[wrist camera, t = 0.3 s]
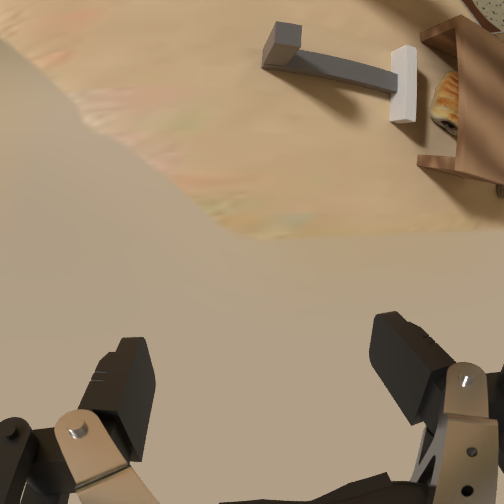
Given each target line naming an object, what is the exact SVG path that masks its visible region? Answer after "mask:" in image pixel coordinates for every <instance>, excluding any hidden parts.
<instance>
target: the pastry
mask: <svg viewBox="0 0 504 504" xmlns="http://www.w3.org/2000/svg"><path fill="white" fill-rule="evenodd" d="M435 90H436V92H435V94H434V97H433V99H432V102H431V106H430V111H429V113H430V117H431V118H432V119H433V121H434V122H435V123H436V124H438V125H440V126H442V127H444V128H446V129H447V131H448V132H450V133H451V134H453V135H458V109H459V84H458V72H456V71H453V72H448V73H447V74H446V76H445V77H444V79H442V80H441V82H440V84H439V85H438V86H437V87H436V89H435Z"/></svg>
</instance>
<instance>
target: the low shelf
mask: <svg viewBox="0 0 504 504" xmlns="http://www.w3.org/2000/svg"><path fill="white" fill-rule="evenodd" d="M420 36H421V42H422V43H425V44H427V45H429V46H432V47H434V48H436V49H438V50H441V51H443V52H445V53H447V54H449V55H451V56H453V57H455V58H457V59H458V84H459V109H458V135H457V150H456V157H444V156H431V155H418V160H417V166H421V167H425V168H429V169H433V170H437V171H441V172H445V173H449V174H453V175H457V176H460V177H464V178H468V179H474V180H479V181H484V182H489V183H494V184H499V185H504V42H503V41H502V40H500V39H499V38H497V37H496V36H495V35H493V34H492V33H490V32H488V31H487V30H485V29H484V28H482V27H481V26H479V25H477V24H476V23H474V22H473V21H471V20H469V19H467V18H466V17H464V16H462V15H459V16H457V17H454V18H452V19H450V20H448V21H445V22H443V23H441V24H439V25H437V26H435V27H432V28H430V29H428V30H426V31H424V32H422V33H420Z"/></svg>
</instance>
